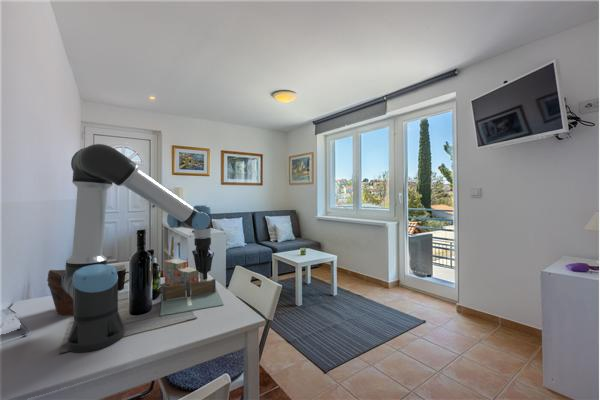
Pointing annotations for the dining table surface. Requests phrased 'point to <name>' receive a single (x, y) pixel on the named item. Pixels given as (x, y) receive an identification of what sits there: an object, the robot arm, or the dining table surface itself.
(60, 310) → the brown flower pot
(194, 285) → the fence gate
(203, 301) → the board
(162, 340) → the dining table surface
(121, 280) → the coffee mug
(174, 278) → the stack of blocks
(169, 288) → the bar
